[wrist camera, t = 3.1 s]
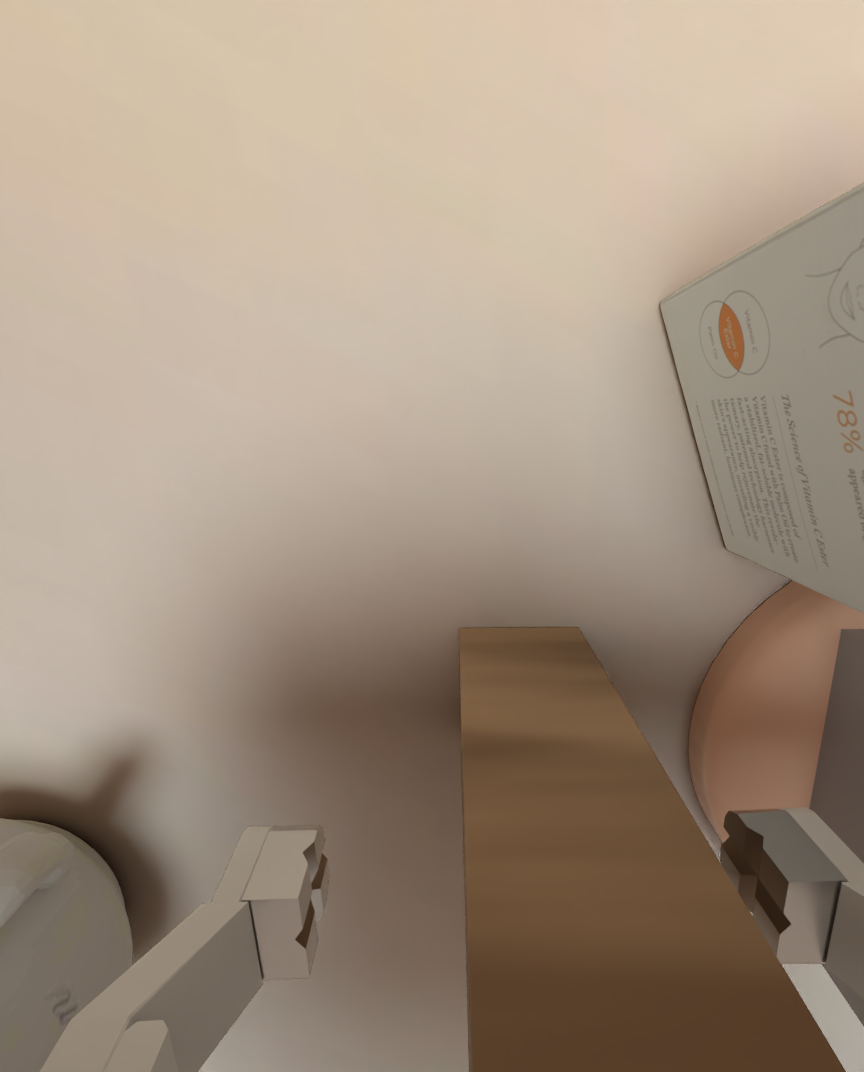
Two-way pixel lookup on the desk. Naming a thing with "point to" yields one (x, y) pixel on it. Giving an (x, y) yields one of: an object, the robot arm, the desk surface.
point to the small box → (783, 396)
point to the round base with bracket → (786, 720)
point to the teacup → (53, 937)
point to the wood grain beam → (599, 887)
